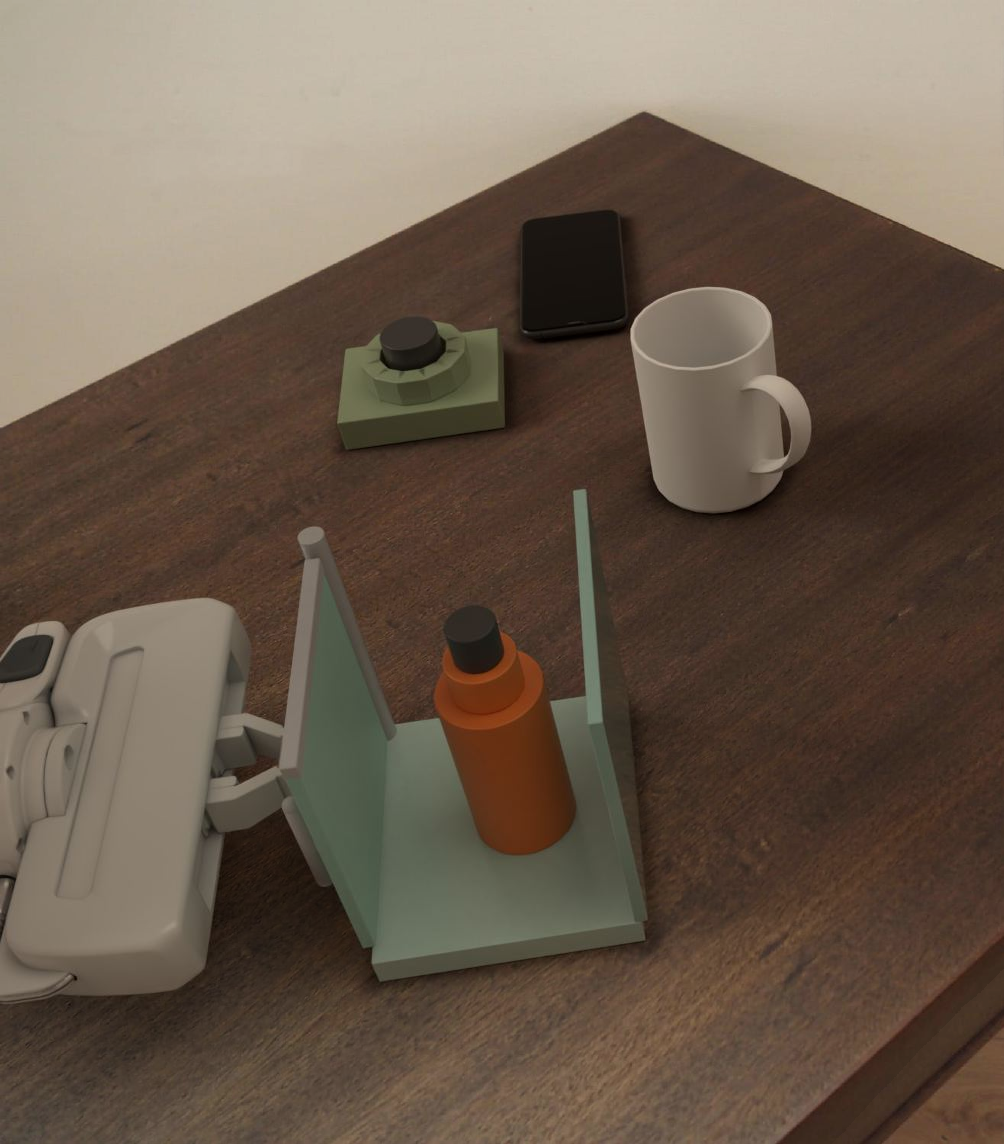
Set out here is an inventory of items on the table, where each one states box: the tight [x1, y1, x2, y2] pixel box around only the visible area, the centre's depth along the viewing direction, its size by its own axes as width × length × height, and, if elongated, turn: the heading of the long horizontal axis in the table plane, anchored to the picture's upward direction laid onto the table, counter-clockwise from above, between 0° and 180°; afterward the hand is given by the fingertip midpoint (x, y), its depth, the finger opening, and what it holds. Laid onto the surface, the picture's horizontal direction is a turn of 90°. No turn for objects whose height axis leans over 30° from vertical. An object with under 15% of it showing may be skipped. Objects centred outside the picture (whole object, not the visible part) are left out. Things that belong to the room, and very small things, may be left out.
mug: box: [630, 286, 812, 514], centre depth 89 cm, size 12×8×10 cm, turn 41°
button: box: [379, 315, 443, 371], centre depth 98 cm, size 4×4×2 cm
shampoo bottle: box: [433, 604, 576, 855], centre depth 70 cm, size 5×5×13 cm
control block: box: [336, 320, 506, 451], centre depth 100 cm, size 10×8×4 cm
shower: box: [296, 488, 649, 983], centre depth 70 cm, size 13×14×15 cm
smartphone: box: [518, 209, 630, 340], centre depth 110 cm, size 7×1×15 cm
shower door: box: [279, 558, 387, 949], centre depth 69 cm, size 2×12×12 cm, turn 7°
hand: (325, 758), depth 71 cm, fingers closed
